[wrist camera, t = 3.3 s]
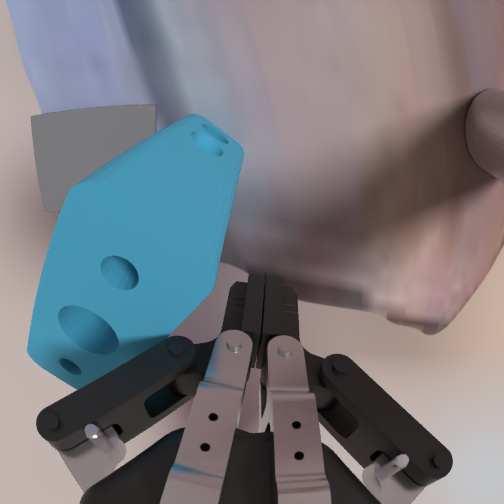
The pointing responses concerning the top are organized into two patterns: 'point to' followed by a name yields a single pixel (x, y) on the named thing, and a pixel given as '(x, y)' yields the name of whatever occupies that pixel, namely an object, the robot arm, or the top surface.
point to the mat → (84, 144)
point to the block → (134, 250)
